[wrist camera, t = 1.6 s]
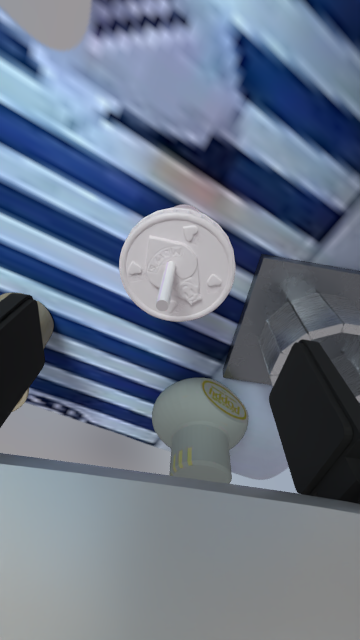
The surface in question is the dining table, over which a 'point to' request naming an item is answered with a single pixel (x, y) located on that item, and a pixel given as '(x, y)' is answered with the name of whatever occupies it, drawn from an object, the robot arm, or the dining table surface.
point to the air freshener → (200, 428)
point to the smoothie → (177, 264)
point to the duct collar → (297, 320)
